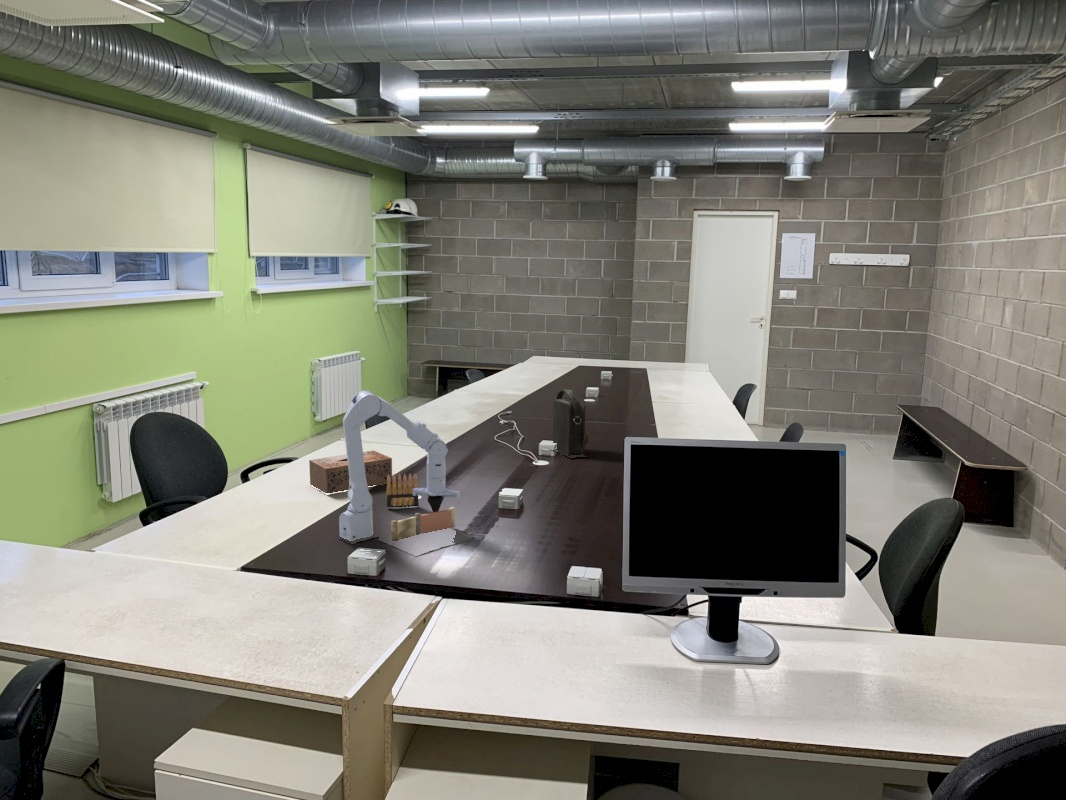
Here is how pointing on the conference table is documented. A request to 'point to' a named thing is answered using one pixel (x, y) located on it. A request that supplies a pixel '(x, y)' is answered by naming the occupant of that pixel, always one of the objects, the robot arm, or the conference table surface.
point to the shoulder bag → (569, 424)
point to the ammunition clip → (396, 493)
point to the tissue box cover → (335, 471)
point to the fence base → (406, 527)
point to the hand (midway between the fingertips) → (436, 518)
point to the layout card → (461, 537)
